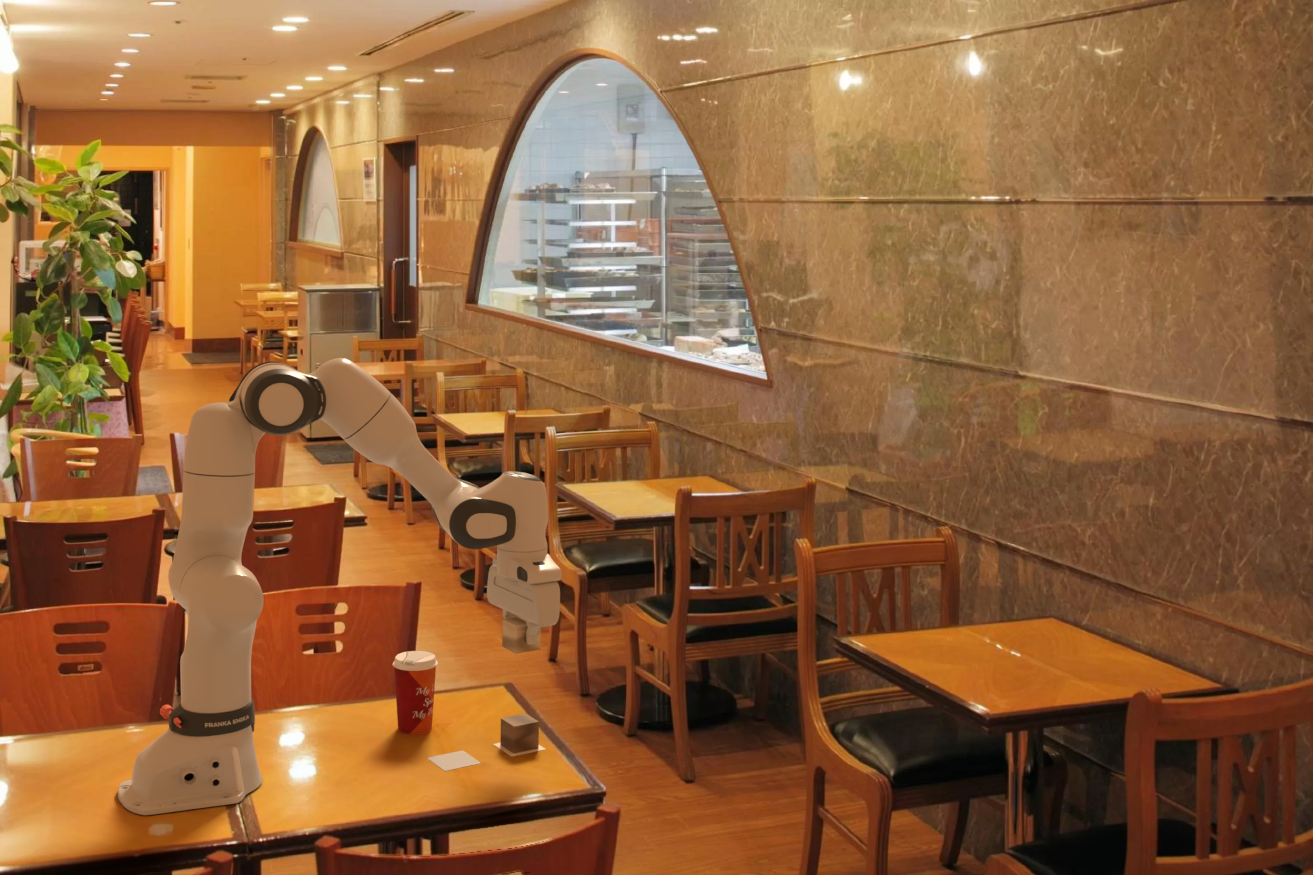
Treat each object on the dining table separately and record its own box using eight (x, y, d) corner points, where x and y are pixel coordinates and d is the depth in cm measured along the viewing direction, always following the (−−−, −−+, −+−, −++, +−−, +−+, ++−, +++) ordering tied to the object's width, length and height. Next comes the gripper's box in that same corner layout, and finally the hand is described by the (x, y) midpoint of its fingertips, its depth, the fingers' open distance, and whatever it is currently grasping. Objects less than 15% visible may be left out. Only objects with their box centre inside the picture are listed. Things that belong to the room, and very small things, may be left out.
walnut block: (513, 753, 238) (514, 726, 238) (500, 744, 242) (500, 718, 242) (538, 748, 241) (538, 721, 240) (524, 739, 245) (525, 713, 244)
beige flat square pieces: (451, 785, 226) (451, 778, 226) (415, 758, 238) (415, 751, 238) (563, 760, 239) (563, 753, 239) (524, 735, 250) (524, 729, 250)
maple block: (515, 653, 236) (516, 625, 235) (502, 646, 240) (502, 619, 239) (540, 649, 239) (541, 622, 238) (526, 642, 243) (527, 615, 242)
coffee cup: (427, 744, 245) (428, 664, 243) (385, 739, 246) (385, 660, 244) (444, 728, 253) (444, 651, 251) (402, 724, 254) (403, 647, 252)
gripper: (478, 553, 244) (478, 627, 246) (535, 577, 227) (533, 656, 229) (509, 549, 247) (508, 622, 249) (567, 572, 231) (565, 650, 233)
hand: (521, 638), depth 239 cm, fingers closed on maple block, 5 cm apart
